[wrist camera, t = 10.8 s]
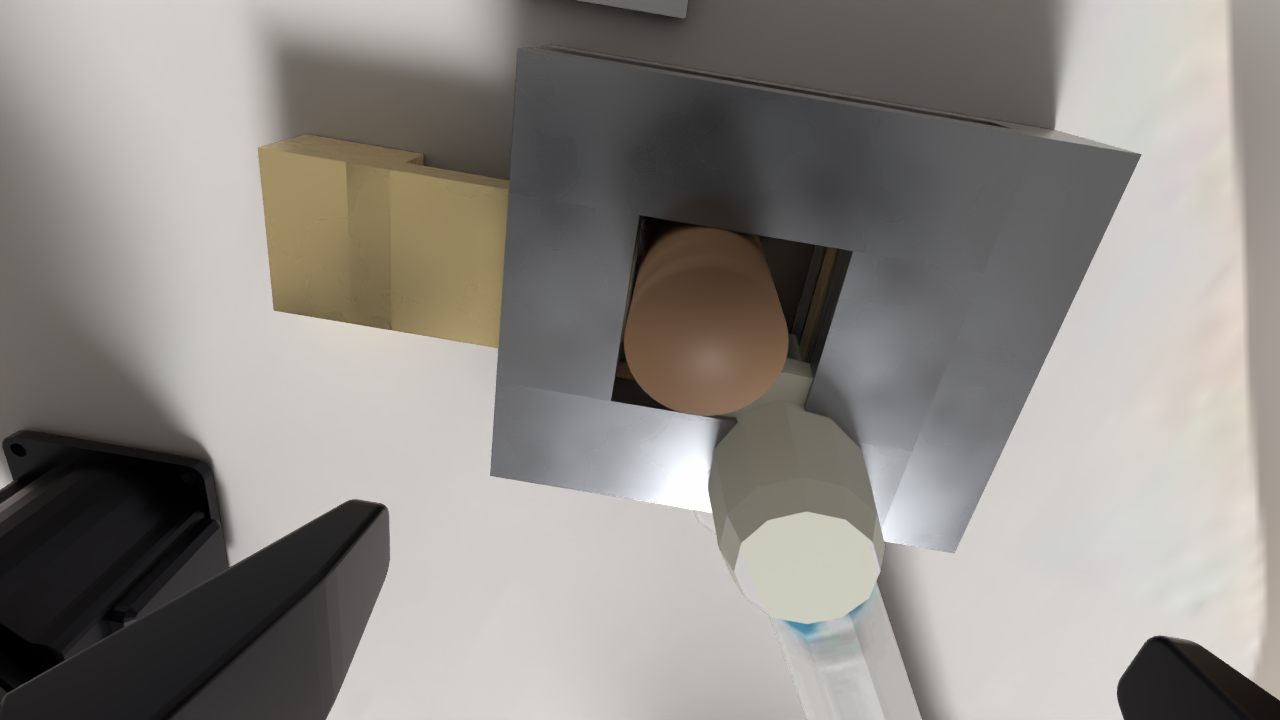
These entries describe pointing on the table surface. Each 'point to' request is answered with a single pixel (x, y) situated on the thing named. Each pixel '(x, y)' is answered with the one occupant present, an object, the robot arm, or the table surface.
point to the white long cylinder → (809, 550)
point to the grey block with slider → (726, 199)
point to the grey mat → (649, 6)
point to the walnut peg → (704, 319)
